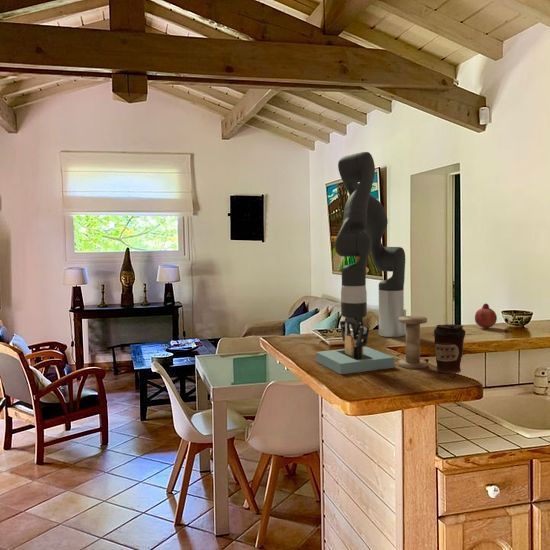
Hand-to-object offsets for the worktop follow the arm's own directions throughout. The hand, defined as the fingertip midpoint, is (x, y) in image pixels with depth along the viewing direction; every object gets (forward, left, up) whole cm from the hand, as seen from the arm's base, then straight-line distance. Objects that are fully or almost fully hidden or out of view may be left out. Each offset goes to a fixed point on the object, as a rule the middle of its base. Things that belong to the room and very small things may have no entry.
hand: (354, 357), depth 160 cm
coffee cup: (-20, +18, -2) cm, 27 cm away
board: (0, 0, -2) cm, 2 cm away
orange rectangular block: (0, 0, -1) cm, 1 cm away
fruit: (-74, -28, -2) cm, 79 cm away
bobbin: (-15, +8, -2) cm, 17 cm away
